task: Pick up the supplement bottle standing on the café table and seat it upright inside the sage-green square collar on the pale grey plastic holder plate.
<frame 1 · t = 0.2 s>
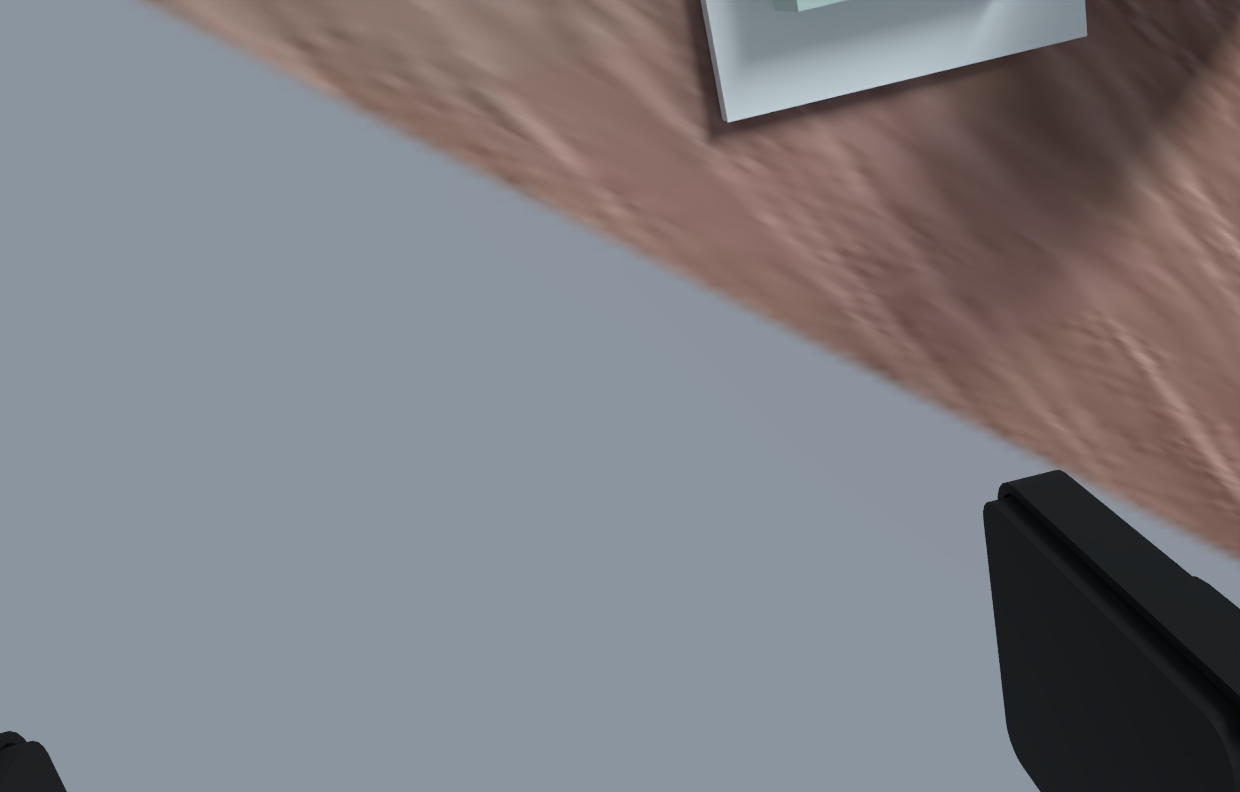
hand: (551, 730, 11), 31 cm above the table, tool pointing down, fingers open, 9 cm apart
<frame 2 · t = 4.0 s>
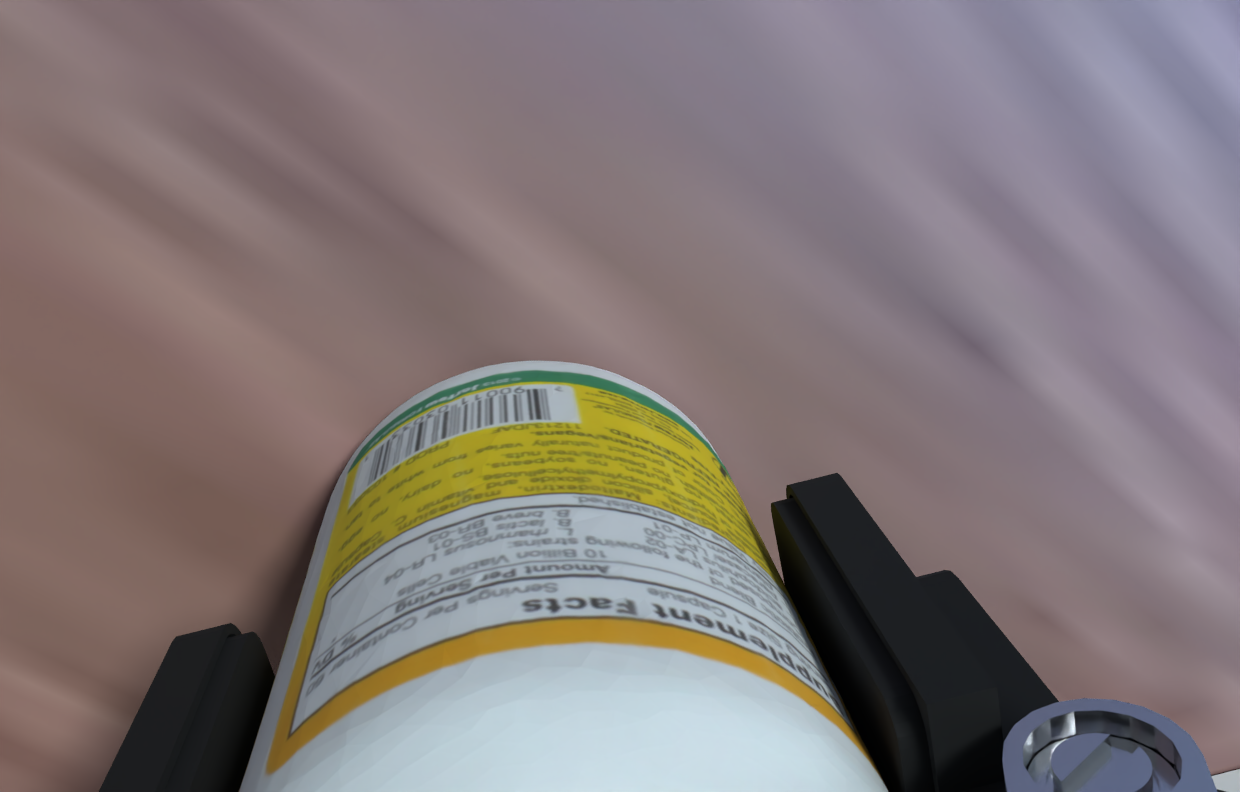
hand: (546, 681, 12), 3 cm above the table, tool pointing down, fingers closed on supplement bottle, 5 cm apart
supplement bottle: (533, 542, 15), on the table, touching gripper
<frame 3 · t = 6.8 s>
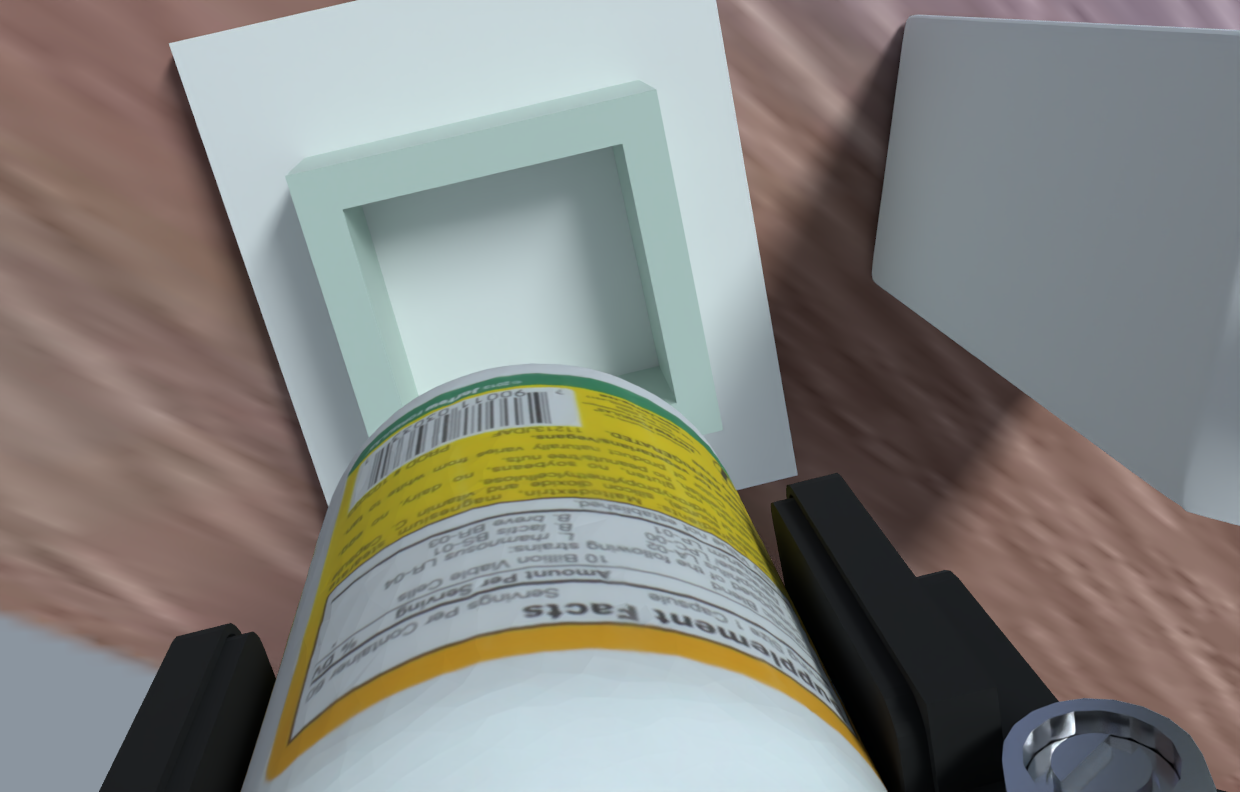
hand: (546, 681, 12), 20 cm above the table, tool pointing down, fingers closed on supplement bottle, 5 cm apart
cup holder: (513, 271, 30), on the table
supplement bottle: (534, 545, 15), point 17 cm above the table, touching gripper
milk carton: (1005, 156, 31), on the table
when the fingers open (5 cm above the table, at t = 9.8 s): supplement bottle drops 1 cm, resting on cup holder.
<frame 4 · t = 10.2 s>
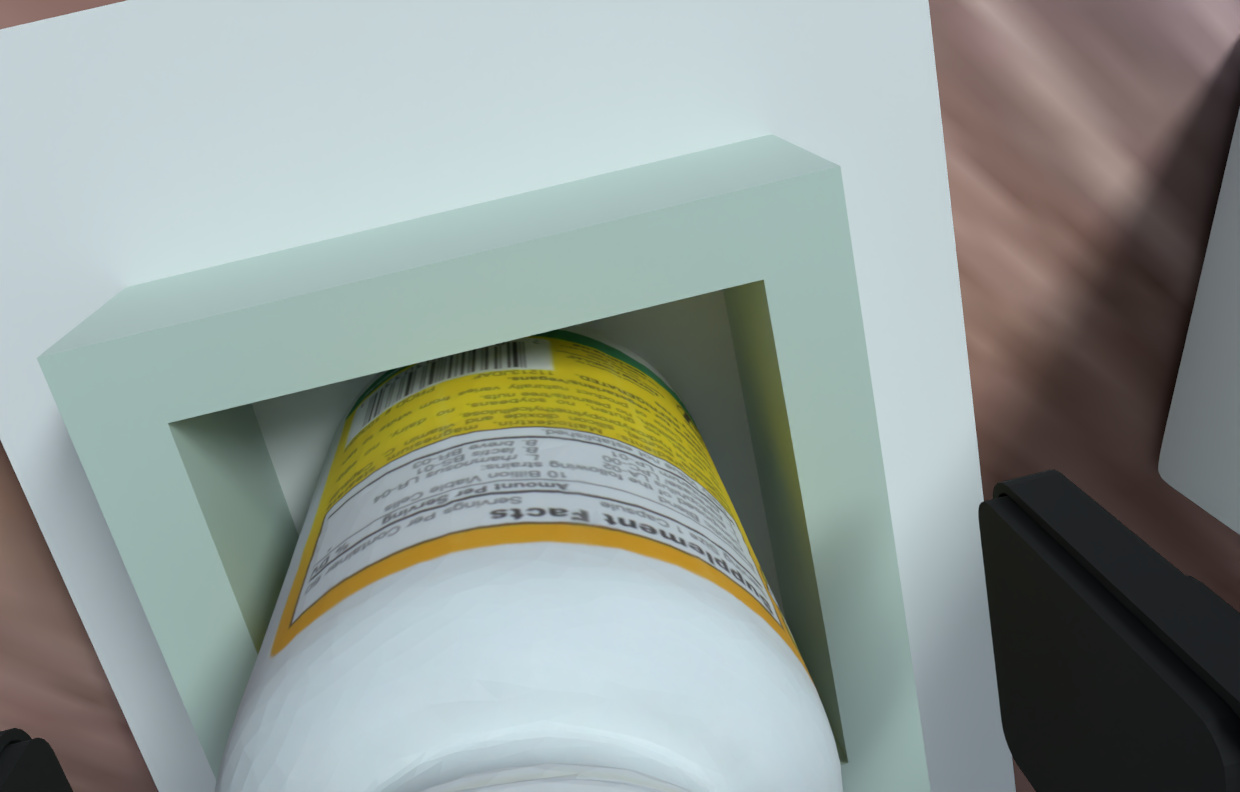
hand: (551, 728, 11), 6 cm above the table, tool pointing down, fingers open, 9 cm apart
cup holder: (528, 473, 17), on the table
supplement bottle: (518, 487, 16), point 1 cm above the table, touching cup holder
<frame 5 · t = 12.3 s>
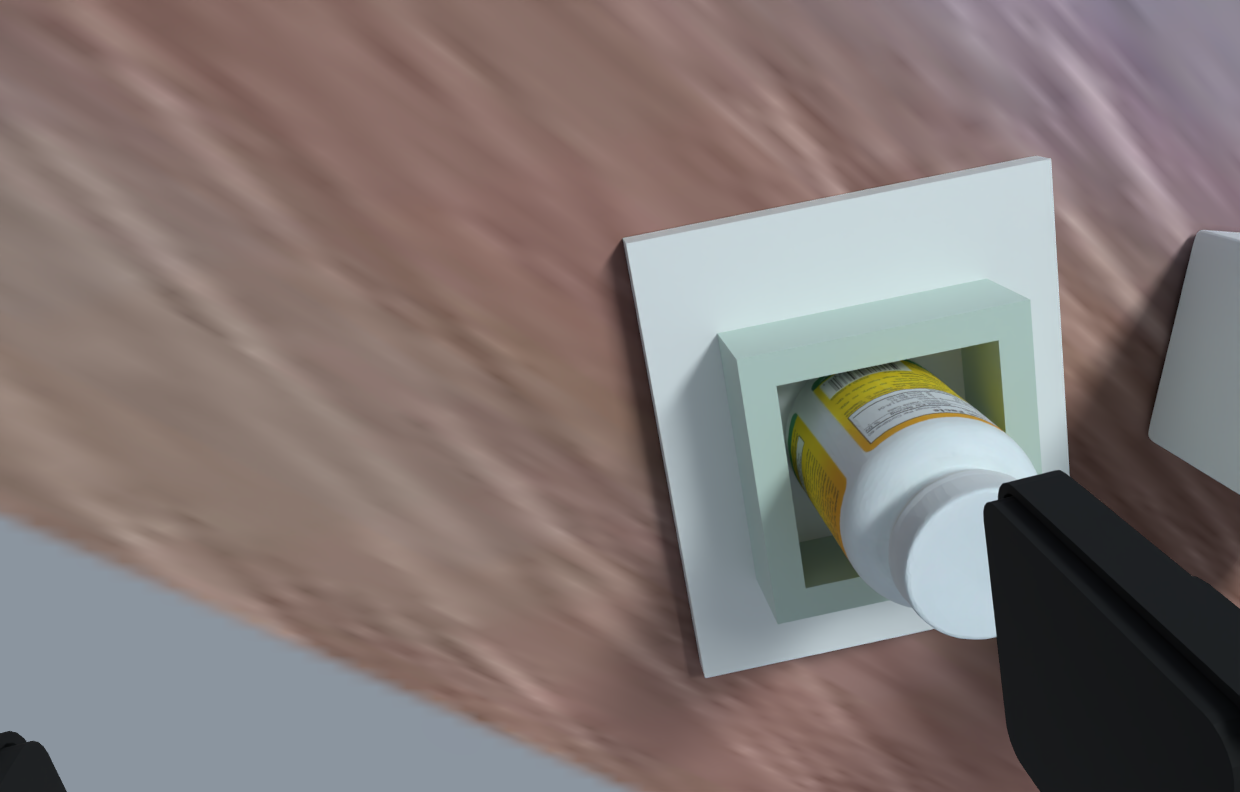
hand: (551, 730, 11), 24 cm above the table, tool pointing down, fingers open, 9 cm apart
cup holder: (858, 423, 36), on the table
supplement bottle: (861, 427, 36), point 1 cm above the table, touching cup holder
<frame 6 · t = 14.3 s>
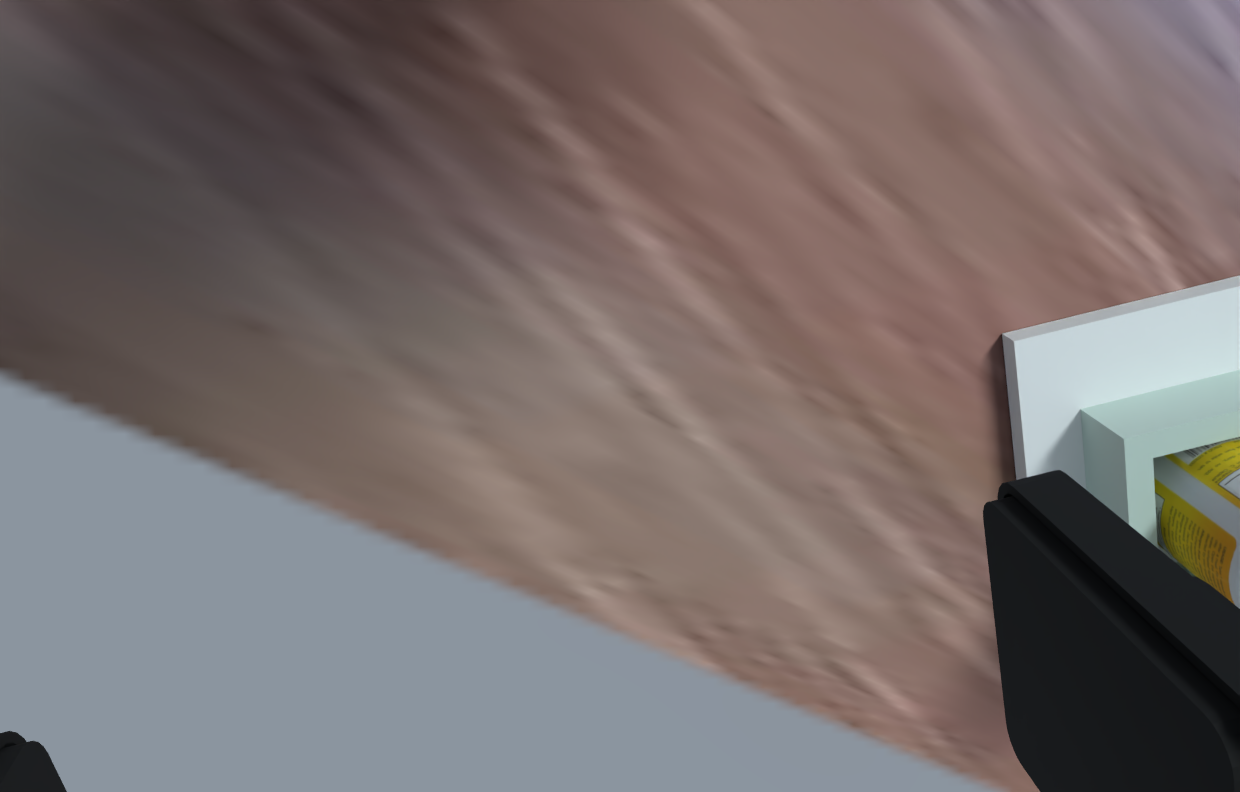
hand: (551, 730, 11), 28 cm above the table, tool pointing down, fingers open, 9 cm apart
cup holder: (1179, 473, 44), on the table
supplement bottle: (1187, 478, 43), point 1 cm above the table, touching cup holder
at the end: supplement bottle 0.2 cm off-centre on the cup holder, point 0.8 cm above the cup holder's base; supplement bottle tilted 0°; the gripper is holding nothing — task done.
